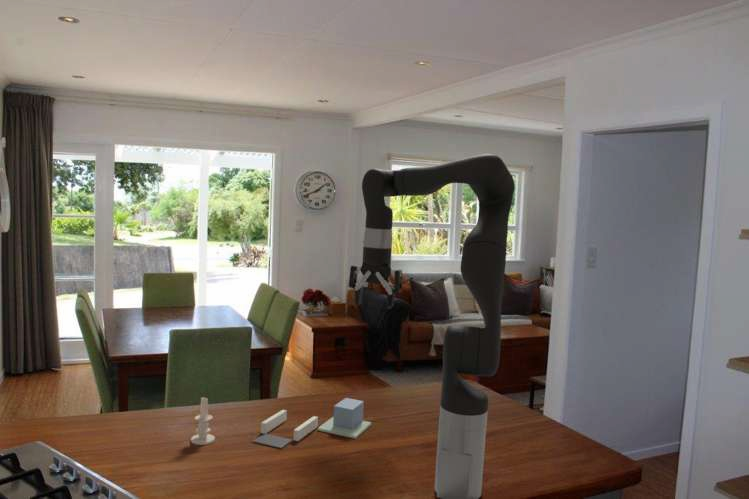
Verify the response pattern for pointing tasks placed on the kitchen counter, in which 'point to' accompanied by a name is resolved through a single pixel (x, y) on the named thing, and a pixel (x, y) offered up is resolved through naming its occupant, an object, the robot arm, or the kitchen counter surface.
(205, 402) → the white ringed tapered column
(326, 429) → the tile
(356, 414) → the block
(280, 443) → the channel
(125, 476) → the kitchen counter surface
